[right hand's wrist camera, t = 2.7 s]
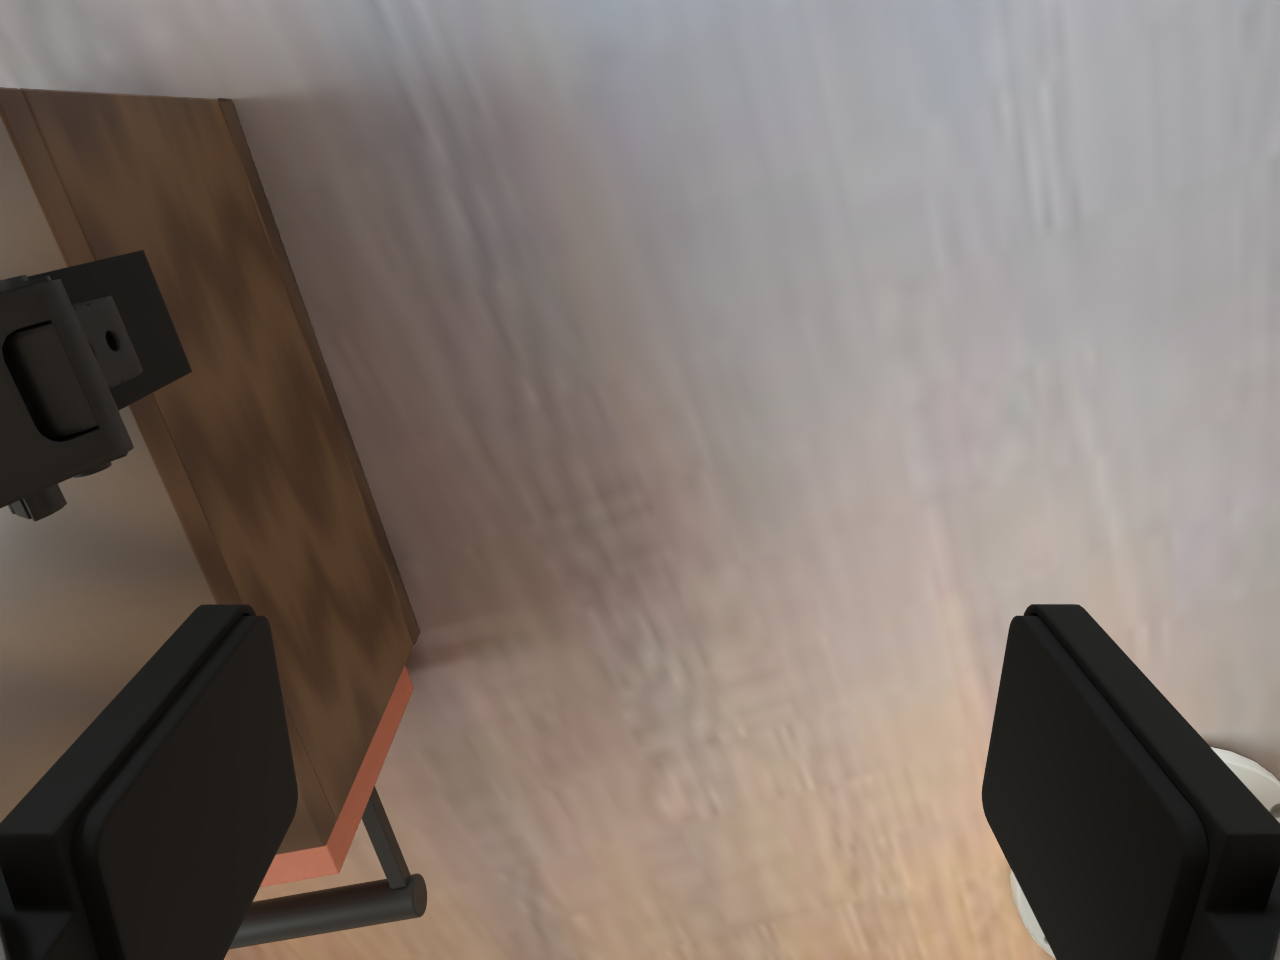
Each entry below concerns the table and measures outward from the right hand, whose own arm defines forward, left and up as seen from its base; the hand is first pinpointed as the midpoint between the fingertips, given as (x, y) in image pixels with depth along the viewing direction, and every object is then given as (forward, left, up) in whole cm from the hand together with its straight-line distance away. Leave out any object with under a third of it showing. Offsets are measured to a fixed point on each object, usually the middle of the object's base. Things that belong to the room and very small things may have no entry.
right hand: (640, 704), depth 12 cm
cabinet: (0, +16, -22) cm, 28 cm away
